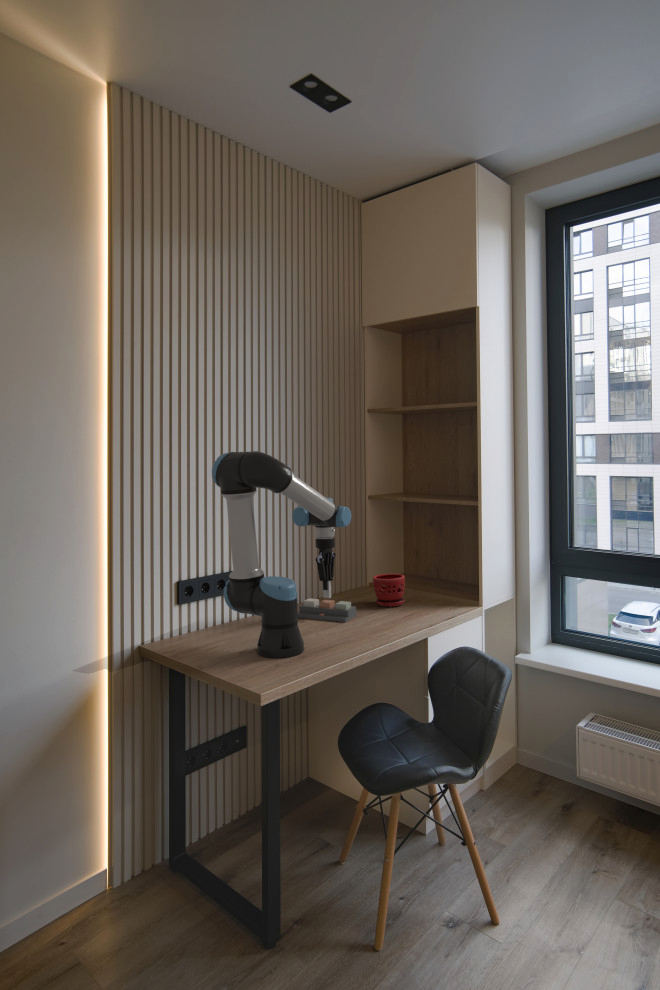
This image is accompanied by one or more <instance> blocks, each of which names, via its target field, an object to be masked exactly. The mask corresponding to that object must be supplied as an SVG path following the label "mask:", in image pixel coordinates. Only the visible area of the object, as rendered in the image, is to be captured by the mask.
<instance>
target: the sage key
mask: <svg viewBox="0 0 660 990" xmlns="http://www.w3.org/2000/svg"><path fill="white" fill-rule="evenodd" d="M335 605H336V609H340V610H348V609H350V608H351V606H352V602H351V601H344V600H340V601H337V602H336V603H335Z"/></svg>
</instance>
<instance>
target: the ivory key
mask: <svg viewBox="0 0 660 990" xmlns="http://www.w3.org/2000/svg"><path fill="white" fill-rule="evenodd" d="M319 603H320V600H319V598H318V599H317V598H307V599H305V600H303V604H304V606H308V607H316V606H318V605H319Z"/></svg>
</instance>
